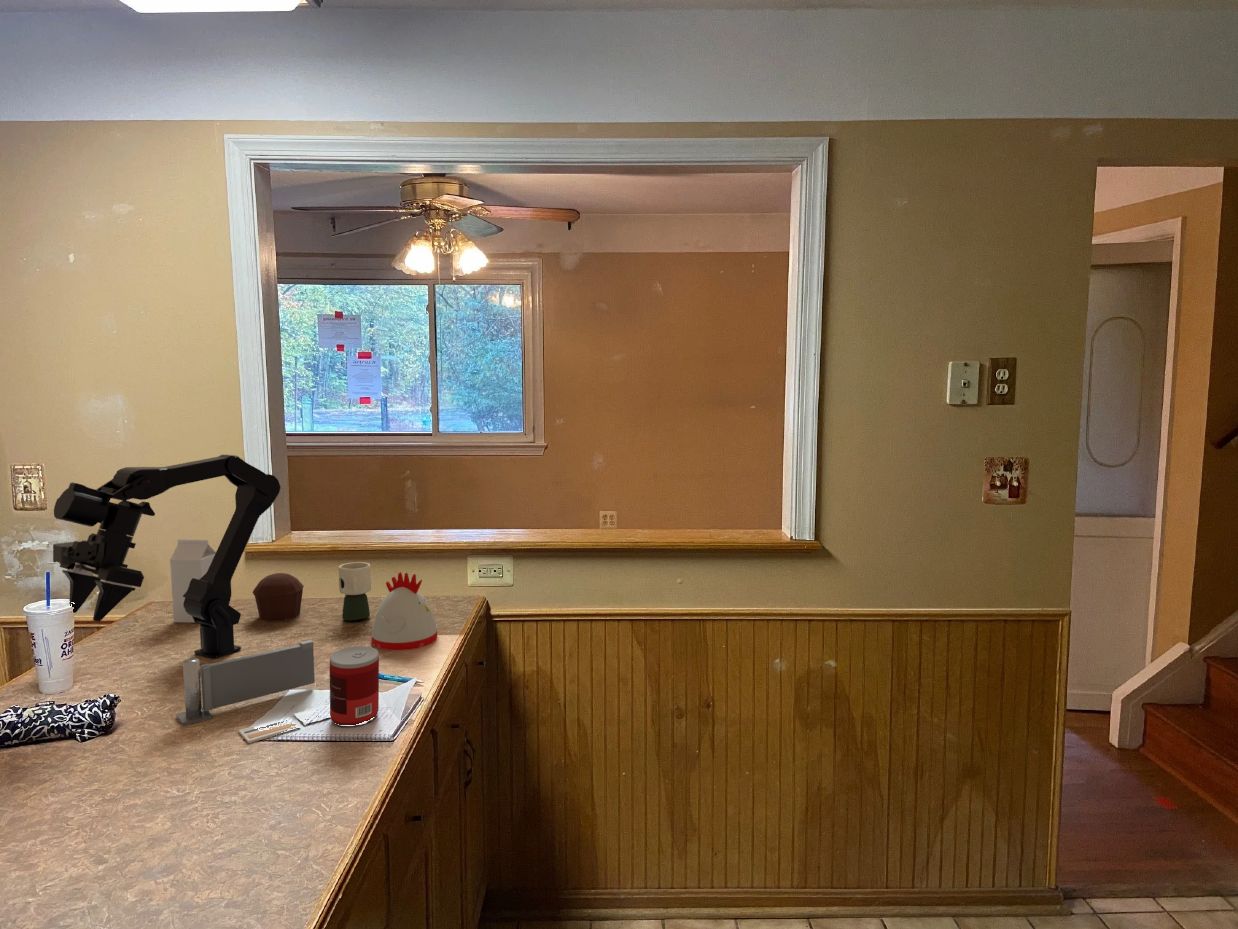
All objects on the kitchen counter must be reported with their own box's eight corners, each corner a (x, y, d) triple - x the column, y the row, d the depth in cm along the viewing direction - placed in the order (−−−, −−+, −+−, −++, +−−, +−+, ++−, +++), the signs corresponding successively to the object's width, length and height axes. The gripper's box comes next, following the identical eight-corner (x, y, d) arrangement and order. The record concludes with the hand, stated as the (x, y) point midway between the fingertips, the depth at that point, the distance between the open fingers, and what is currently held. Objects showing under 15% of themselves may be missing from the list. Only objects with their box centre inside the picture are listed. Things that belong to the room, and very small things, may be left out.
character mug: (341, 613, 189) (339, 561, 188) (372, 611, 191) (370, 559, 190) (338, 627, 179) (336, 572, 177) (371, 624, 181) (369, 570, 179)
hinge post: (182, 726, 128) (179, 667, 127) (176, 717, 131) (172, 660, 130) (212, 718, 131) (209, 661, 130) (204, 710, 134) (201, 654, 133)
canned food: (385, 707, 135) (386, 647, 133) (366, 730, 127) (366, 666, 125) (343, 703, 136) (343, 643, 134) (321, 725, 128) (320, 662, 126)
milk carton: (203, 623, 181) (199, 543, 179) (173, 623, 181) (168, 542, 179) (219, 614, 188) (215, 536, 186) (190, 613, 188) (186, 536, 186)
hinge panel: (205, 711, 131) (203, 666, 130) (202, 708, 133) (200, 663, 132) (315, 683, 143) (313, 642, 143) (311, 680, 145) (310, 639, 144)
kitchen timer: (419, 652, 163) (417, 582, 161) (359, 647, 166) (357, 578, 164) (447, 631, 176) (446, 566, 175) (391, 627, 179) (389, 563, 178)
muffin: (257, 610, 191) (256, 570, 190) (306, 606, 194) (304, 567, 193) (250, 625, 180) (248, 583, 179) (302, 621, 183) (300, 579, 182)
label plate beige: (289, 718, 131) (289, 715, 131) (300, 728, 127) (300, 725, 127) (238, 732, 126) (238, 729, 126) (248, 743, 122) (248, 740, 122)
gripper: (46, 516, 143) (11, 600, 139) (94, 527, 133) (59, 618, 129) (108, 531, 152) (77, 610, 148) (158, 543, 142) (127, 628, 138)
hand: (84, 616), depth 140 cm, fingers open, 9 cm apart
